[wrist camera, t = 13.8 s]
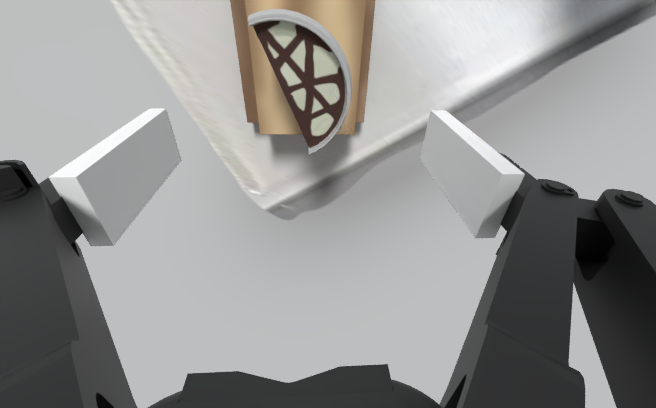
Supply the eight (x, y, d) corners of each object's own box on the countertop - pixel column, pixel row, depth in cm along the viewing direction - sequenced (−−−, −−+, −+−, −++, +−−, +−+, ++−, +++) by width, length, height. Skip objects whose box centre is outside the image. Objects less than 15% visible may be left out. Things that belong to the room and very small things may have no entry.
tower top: (361, -22, 31) (367, -25, 28) (350, 123, 40) (354, 134, 37) (248, -26, 30) (241, -30, 27) (263, 123, 39) (259, 134, 36)
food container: (357, 104, 35) (372, 135, 27) (310, 123, 36) (311, 159, 28) (318, -16, 28) (323, -23, 20) (261, 12, 29) (244, 16, 21)
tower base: (370, -21, 34) (377, -23, 31) (359, 113, 43) (363, 122, 40) (234, -25, 33) (226, -28, 30) (252, 113, 42) (247, 122, 39)
